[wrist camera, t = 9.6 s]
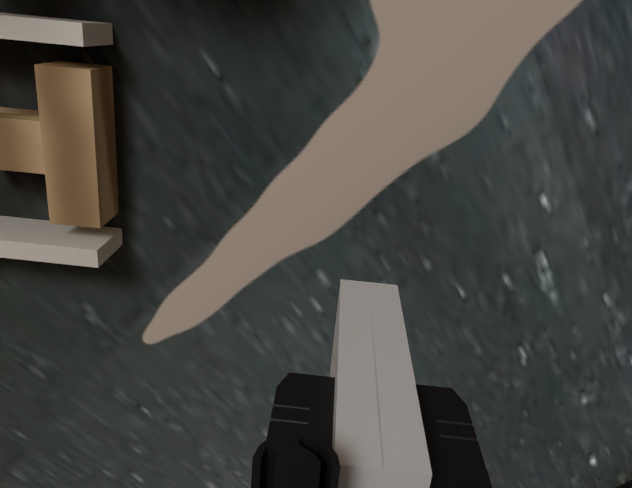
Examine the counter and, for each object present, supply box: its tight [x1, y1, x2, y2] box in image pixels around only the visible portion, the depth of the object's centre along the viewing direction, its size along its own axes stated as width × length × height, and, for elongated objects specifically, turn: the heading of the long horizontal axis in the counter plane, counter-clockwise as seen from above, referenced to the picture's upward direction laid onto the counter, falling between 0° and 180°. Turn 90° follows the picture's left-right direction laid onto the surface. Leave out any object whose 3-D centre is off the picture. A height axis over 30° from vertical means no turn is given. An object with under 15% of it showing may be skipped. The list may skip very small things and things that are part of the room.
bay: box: [0, 12, 123, 268], centre depth 42 cm, size 15×18×5 cm
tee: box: [0, 61, 119, 228], centre depth 43 cm, size 10×12×4 cm
